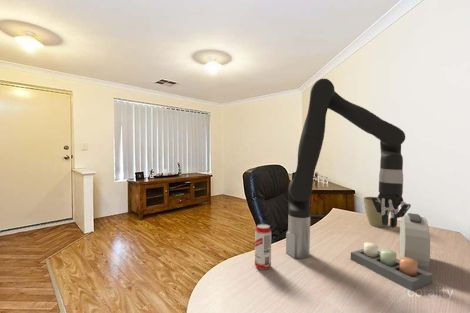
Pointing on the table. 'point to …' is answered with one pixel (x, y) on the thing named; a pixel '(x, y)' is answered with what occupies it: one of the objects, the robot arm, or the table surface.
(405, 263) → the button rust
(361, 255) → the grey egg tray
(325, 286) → the table surface
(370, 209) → the plant pot
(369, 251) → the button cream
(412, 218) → the alarm clock
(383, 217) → the robot arm
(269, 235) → the beer can
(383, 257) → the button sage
